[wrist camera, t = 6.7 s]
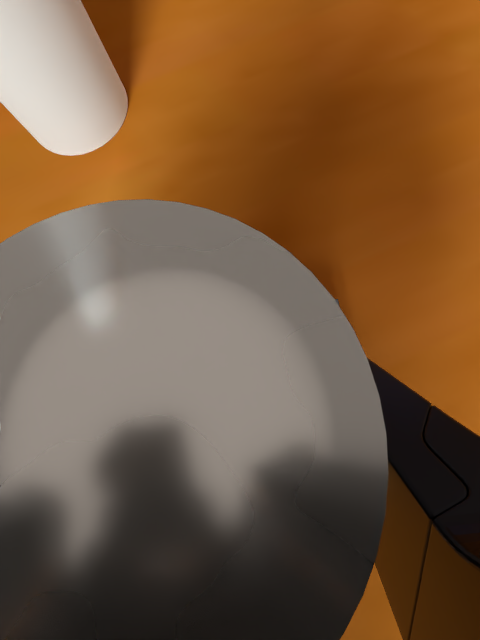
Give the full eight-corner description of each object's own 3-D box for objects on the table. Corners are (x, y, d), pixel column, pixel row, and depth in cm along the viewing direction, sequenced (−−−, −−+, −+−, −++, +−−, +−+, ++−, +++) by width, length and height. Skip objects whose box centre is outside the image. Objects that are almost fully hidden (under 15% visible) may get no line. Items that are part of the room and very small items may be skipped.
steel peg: (319, 372, 15) (453, 280, 4) (279, 496, 14) (279, 913, 3) (205, 332, 16) (7, 150, 4) (161, 447, 15) (-229, 604, 4)
